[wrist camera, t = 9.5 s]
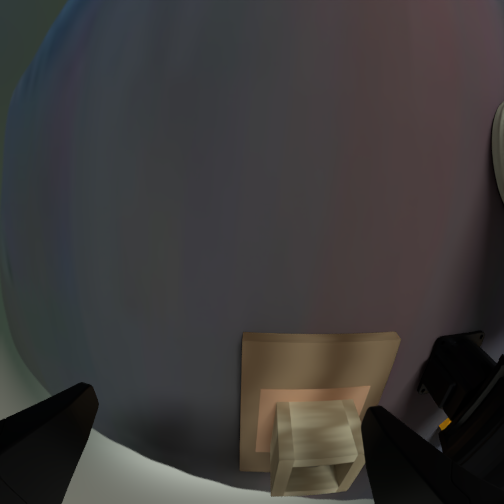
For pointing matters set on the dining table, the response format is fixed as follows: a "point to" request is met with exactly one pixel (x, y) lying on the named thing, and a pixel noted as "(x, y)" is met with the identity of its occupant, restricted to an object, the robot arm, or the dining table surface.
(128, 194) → the dining table surface
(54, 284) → the dining table surface
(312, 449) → the collar
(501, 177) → the jar
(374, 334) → the post board
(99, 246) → the dining table surface
